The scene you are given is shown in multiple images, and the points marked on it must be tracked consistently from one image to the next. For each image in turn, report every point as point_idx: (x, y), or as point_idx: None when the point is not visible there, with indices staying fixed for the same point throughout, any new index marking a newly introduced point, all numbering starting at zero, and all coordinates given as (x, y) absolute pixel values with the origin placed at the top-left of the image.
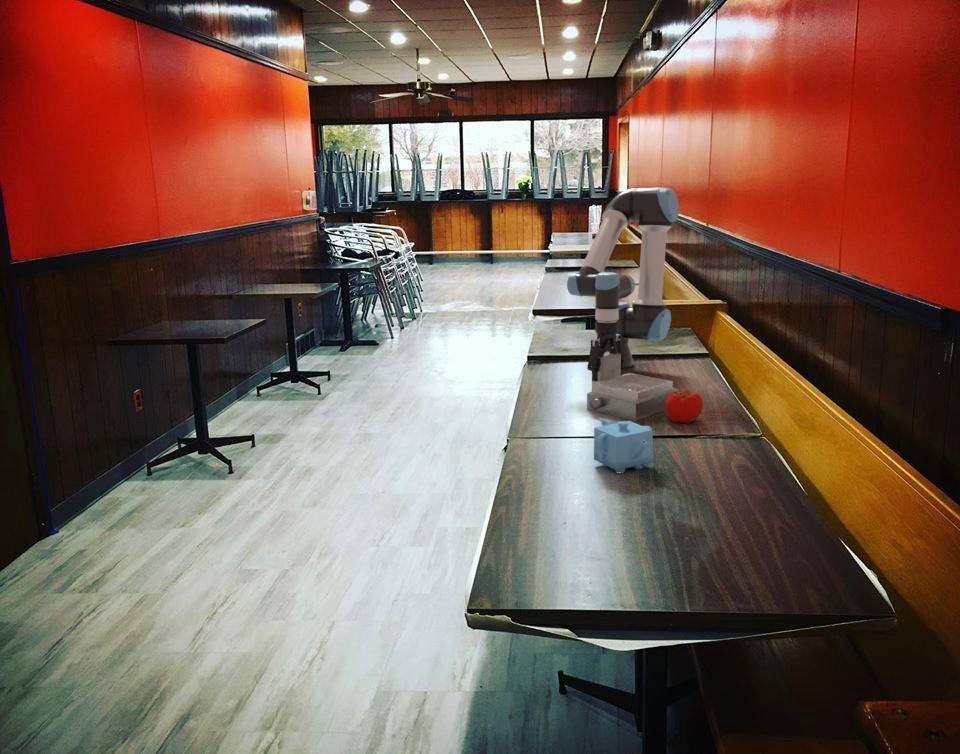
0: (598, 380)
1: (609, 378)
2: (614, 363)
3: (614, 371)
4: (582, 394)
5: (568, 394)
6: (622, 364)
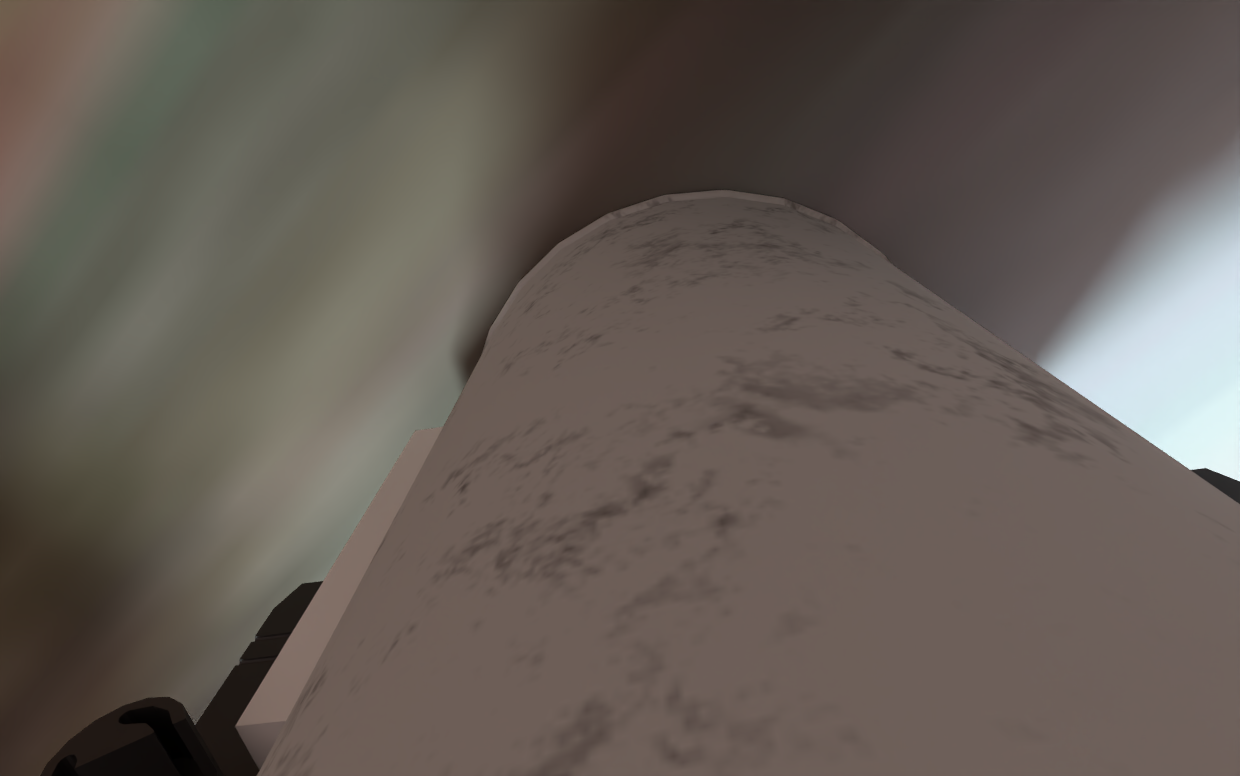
0: None
1: (980, 326)
2: (1179, 569)
3: (919, 348)
4: None
5: None
6: (120, 727)
